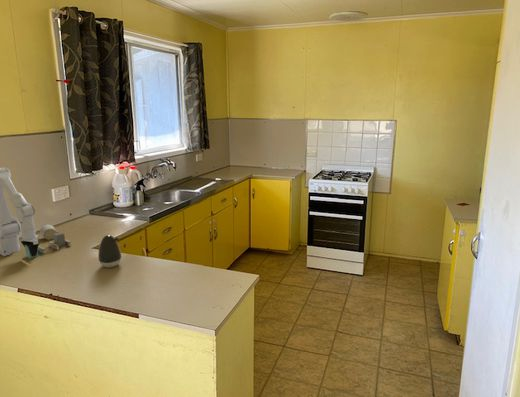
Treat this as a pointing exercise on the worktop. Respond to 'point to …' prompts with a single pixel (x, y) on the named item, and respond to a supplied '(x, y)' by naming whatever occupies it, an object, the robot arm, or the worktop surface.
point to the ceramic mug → (48, 231)
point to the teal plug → (29, 252)
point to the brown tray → (53, 247)
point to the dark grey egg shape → (109, 252)
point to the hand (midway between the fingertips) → (32, 254)
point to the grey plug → (59, 239)
